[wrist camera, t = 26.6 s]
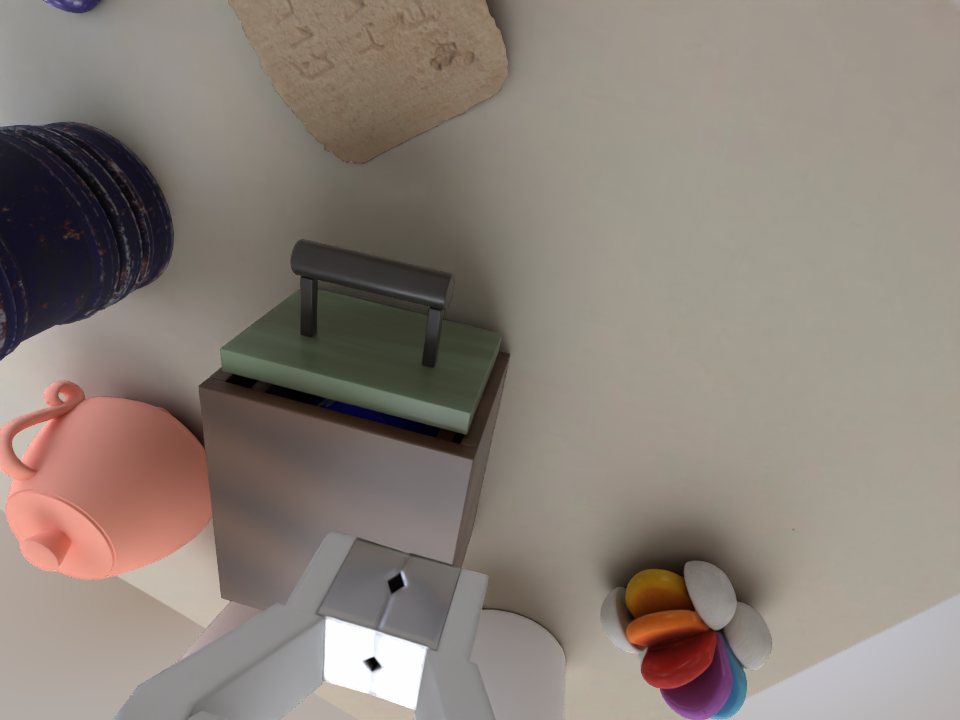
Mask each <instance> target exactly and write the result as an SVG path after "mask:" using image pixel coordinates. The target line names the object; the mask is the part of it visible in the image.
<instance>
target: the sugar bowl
mask: <svg viewBox="0 0 960 720" xmlns="http://www.w3.org/2000/svg"><path fill="white" fill-rule="evenodd" d="M59 392H61V393H63V394H64V395H65V396H66V401H65V402H63V401H61V400H60V399H59V397H58V394H59ZM84 398H85V395H84V391H83V390H82V389H81V388H80V387H79V386H78V385H76V384H74V383H72V382H69V381H58V382H55V383H53V384H51V385H50V386H49V387H48V388H47V389H46V390H45V393H44V399H45V401H46V402H47V403H48V404H49V405H50V406H52V407H49V408H46V409H42V410H39V411H35V412H32V413H29V414H26V415H23V416H20V417H18V418H16V419H14V420H12V421H10V422H8V423H7V424H5V425H4V426H2V427H1V428H0V470H1V471H2V472H4V473H5V474H6V475H8V476H10V477H12V478H14V479H13V482H12V484H11V487H10V490H9V494H8V498H7V503H6V517H7V521H8V524H9V526H10V528H11V530H12V532H13V534H14V535H15V536H16V538H17V539H18V540H19V542H20V551H21V552H22V554H23V556H24V557H25V558H26V559H27V560H28V561H29V562H30V563H31V564H33V565H34V566H36V567H38V568H40V569H42V570H45V571H55V570H56V571H58V572H60V573H62V574H65V575H68V576H71V577H74V578H79V579H86V580H95V579H102V578H106V577H110V576H115V575H119V574H122V573H125V572H128V571H131V570H134V569H137V568H140V567H143V566H146V565H148V564H151V563H153V562H156V561H158V560H160V559H162V558H164V557H166V556H168V555H170V554H172V553H173V552H175V551H176V550H178V549H179V548H181V547H182V546H184V545H185V544H187V543H188V542H189V541H191V540H192V539H193V538H194V537H196V536H197V535H198V534H199V533H200V532H201V530H202V529H203V528H204V527H205V526H206V525H207V524H208V523H209V521H210V520H211V518H212V507H211V498H210V489H209V479H208V470H207V461H206V451H205V450H204V448H203V446H202V445H201V444H200V442H199V441H198V440H197V438H196V437H195V436H194V435H193V434H192V433H191V432H190V431H189V430H188V429H187V428H186V427H185V426H184V425H183V424H182V423H181V422H179V421H178V420H177V419H175V418H174V417H173V415H172V414H171V413H170V412H169V411H167V410H166V409H164V408H161V407H154V406H152V405H150V404H147V403H143V402H140V401H135V400H130V399H125V398H115V397H93V398H88V399H84ZM47 420H50V421H49V422H48V423H47V424H46V425H45V426H44V427H43V428H42V429H41V430H40V432H39V433H38V434H37V435H36V436H35V437H34V439H33V440H32V442H31V443H30V445H29V446H28V448H27V449H26V451H25V453H24V455H23V457H22V459H21V461H20V460H19V459H18V458H17V456H16V455H15V453H14V451H13V448H12V439H13V437H14V436H15V435H16V434H17V433H18V432H20V431H21V430H23V429H25V428H27V427H30V426H32V425H35V424H38V423H41V422H44V421H47Z"/></svg>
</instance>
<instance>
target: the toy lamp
mask: <svg viewBox="0 0 960 720" xmlns="http://www.w3.org/2000/svg"><path fill="white" fill-rule="evenodd" d="M43 1H45V2H47V3H48V4H50V5H52V6H54V7H57V8H59V9H62V10H65V11H68V12H75V13H82V12H86V11H89V10H91V9H92V8H94V7H95V6H96V5H97V3H98V2H99V1H100V0H43Z"/></svg>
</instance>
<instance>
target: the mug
mask: <svg viewBox="0 0 960 720" xmlns="http://www.w3.org/2000/svg"><path fill="white" fill-rule="evenodd" d="M469 661H470V662H472V663H475V664H478V668H479V671H480V674H481V677H482V680H483V683H484V686H485V689H486V692H487V695H488V698H489V701H490V704H491V707H492V710H493V713H494V716H495V719H496V720H564V705H565V674H566V658H565V655H564V652H563V649H562V647H561V646H560V645H559V643H558V642H557V640H556V639H555V637H554V636H553V635H551V634H550V633H549V632H548V631H547V630H546V629H545V628H543V627H542V626H541V625H539V624H537V623H535V622H534V621H532V620H530V619H528V618H526V617H523V616H520V615H518V614H515V613H512V612H506V611H501V610H482V611H481V615H480V619H479V623H478V627H477V631H476V635H475V640H474V644H473V648H472V652H471V656H470V660H469ZM413 720H416V716H414V719H413Z"/></svg>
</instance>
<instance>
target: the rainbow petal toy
mask: <svg viewBox="0 0 960 720" xmlns="http://www.w3.org/2000/svg"><path fill="white" fill-rule="evenodd" d="M684 578H685V579H684ZM684 578H683V577H681V576H679V575H677V574H675V573H673V572H670V571H667V570H662V569H647V570H643V571H641V572H639V573H637V574H636V575H635V576H634V577H633V578H632V579H631V580H630V582H629V583H628V585H627V588H624V587H617V588H615V589H613V590H612V591H611V592H610V593H609V594H608V595H607V596H606V598H605V600H604V602H603V604H602V608H601V622H602V626H603V629H604V631H605V633H606V635H607V637H608V638H609V639H610V641H611V642H612V643H613V644H615V645H616V646H617V647H619V648H620V649H622V650H624V651H627V652H632V653H638V654H639V661H640V665H641V673H642V676H643V678H644V679H645V680H646V682H647V683H649V684H650V685H652V686H654V687H657V688H660V691H661V694H662V696H663V698H664V700H665V701H666V703H667V704H668V705H669V706H670V707H671V708H672V709H673V710H674V711H675V712H676V713H678V714H679V715H681V716H683V717H685V718H688V719H692V720H705V719H708V718H712V719H727V718H729V717H731V716H733V715H734V714H736V713H737V711H738V710H739V709H740V708H741V706H742V705H743V702H744V700H745V697H746V691H747V680H746V675H745V673H744V670H743V669H744V667H745V668H746V669H748V670H756V669H758V668H760V667H761V666H762V665H763V664H764V663H765V662H766V661H767V659H768V658H769V656H770V653H771V648H772V638H771V634H770V631H769V629H768V627H767V624H766V623H765V621H764V619H763V618H762V616H761V615H760V614H759V613H758V612H757V611H756V610H755V609H753V608H752V607H750V606H749V605H747V604H745V603H742V602H738V601H737V600H736V595H735V591H734V589H733V586H732V584H731V582H730V580H729V579H728V577H727V576H726V574H725V573H724V572H723V571H722V570H721V569H719V568H718V567H716V566H714V565H713V564H710V563H708V562H704V561H689V562H687V563H686V564H685V566H684Z"/></svg>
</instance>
